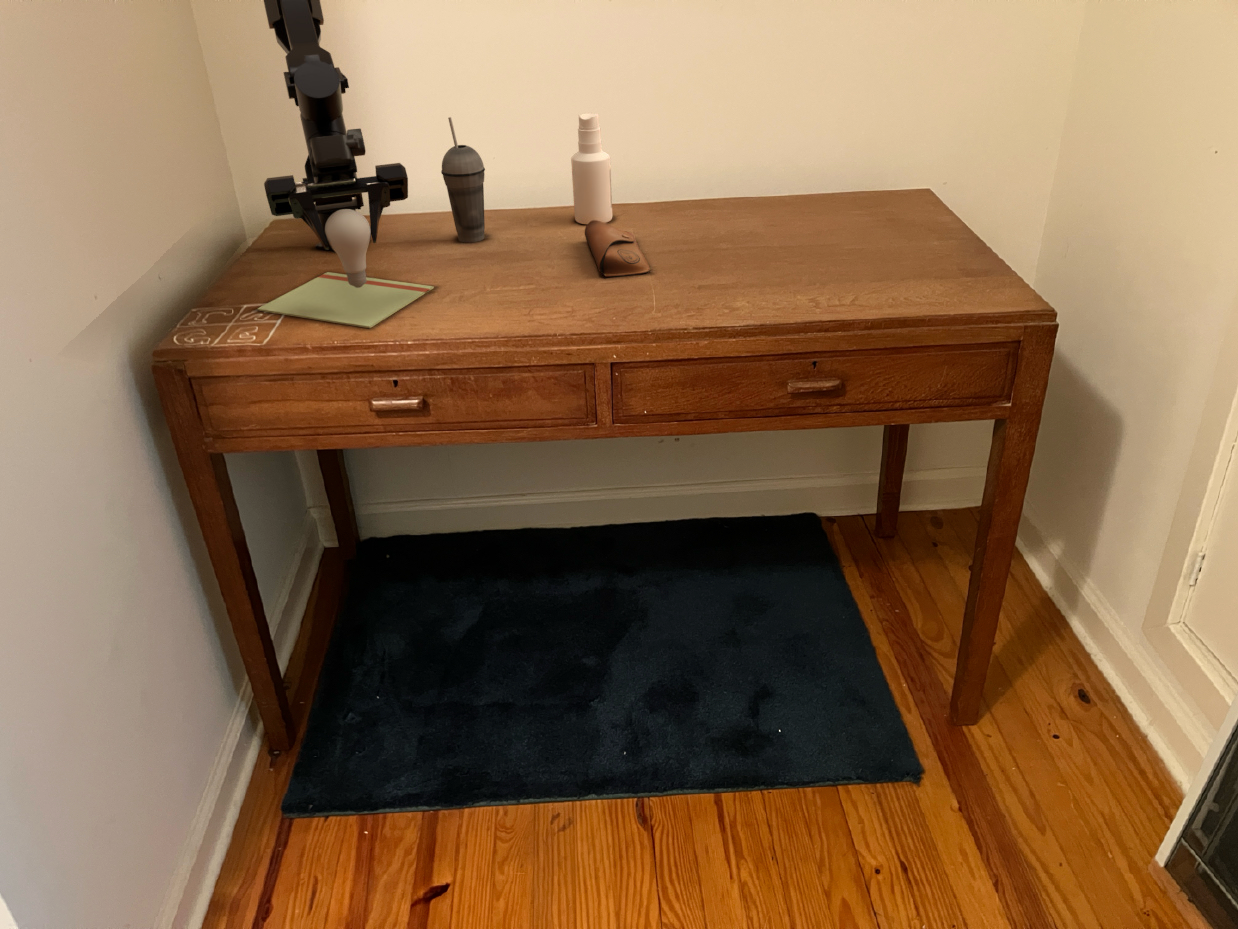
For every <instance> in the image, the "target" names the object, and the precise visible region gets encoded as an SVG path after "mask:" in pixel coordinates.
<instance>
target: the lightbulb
mask: <svg viewBox="0 0 1238 929" xmlns="http://www.w3.org/2000/svg"><path fill="white" fill-rule="evenodd" d="M325 234H326V238H327V241H328V243H329V245H330V246H331V247H332V249H333V250H332V251H334V252H335V254H336V255H337V257H338V258H339V260H340V263H341V265H342V269H343V271H344V272H345V274H346V275H347V279H348V282H349V284H350V285H352V286H355V287H356V288H360V287H362V286H363V285H364V284H365V283H366V282H367V279H366V277H367V272H366V269H367V253H368V252H367V251H368V248H369V246H370V242H371V239H372V236H371V225H370V222H369V221H368V219H367V218H366V217H365V215H363V214H362V213H361V212H359V211H357V210H356V211H355V210H351V209H342V210H338V211H336V212H334V213H333V214H332V215H331V216H330V217H329V218H328V220H327V222H326V225H325Z"/></svg>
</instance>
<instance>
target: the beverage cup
mask: <svg viewBox="0 0 1238 929" xmlns="http://www.w3.org/2000/svg"><path fill="white" fill-rule="evenodd" d="M448 123H449V127H450V131H451V135H452V140H453V144H454V146H452V147H450V148H449V149H448V150H447V151H446V152H445V153H444V156H443V158H442V161H441V172H440V173H441V175H442V178H443V181H444V185H445V186H446V190H447V195H448V199H449V204H450V208H451V214H452V218H453V222H454V227H455V232H456V235H457V239H458V241H459V242H461V243H476V242H480V241H483V240H484V239H485V238H486V237H485V228H486V226H485V225H486V224H485V223H486V222H485V221H486V220H485V194H484V192H485V191H484V188H485V187H484V182H485V171H486V169H485V165H484V162H483V160H482V157H481V155H480V154H479V153H478V152H477V150H476V149H475V148H473V147H471V146H469V145H466V144H458V141H457V137H456V132H455V128H454V124H453V120H452V117H451V116H449V117H448Z"/></svg>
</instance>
